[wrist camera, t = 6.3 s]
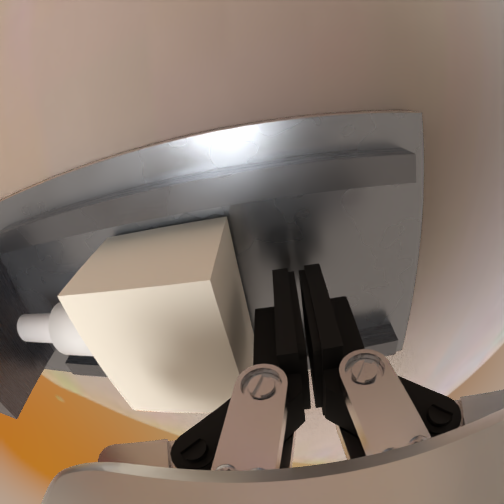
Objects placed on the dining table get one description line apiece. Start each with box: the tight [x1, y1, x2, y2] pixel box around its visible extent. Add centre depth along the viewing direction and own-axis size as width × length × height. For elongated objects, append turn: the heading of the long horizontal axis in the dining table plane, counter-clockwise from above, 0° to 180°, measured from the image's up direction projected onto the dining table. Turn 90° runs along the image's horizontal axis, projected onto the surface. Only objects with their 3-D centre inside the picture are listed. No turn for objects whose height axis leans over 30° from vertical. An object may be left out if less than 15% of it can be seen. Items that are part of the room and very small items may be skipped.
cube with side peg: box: [17, 216, 254, 413], centre depth 11 cm, size 11×8×4 cm
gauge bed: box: [0, 110, 424, 419], centre depth 11 cm, size 24×12×7 cm, turn 100°
